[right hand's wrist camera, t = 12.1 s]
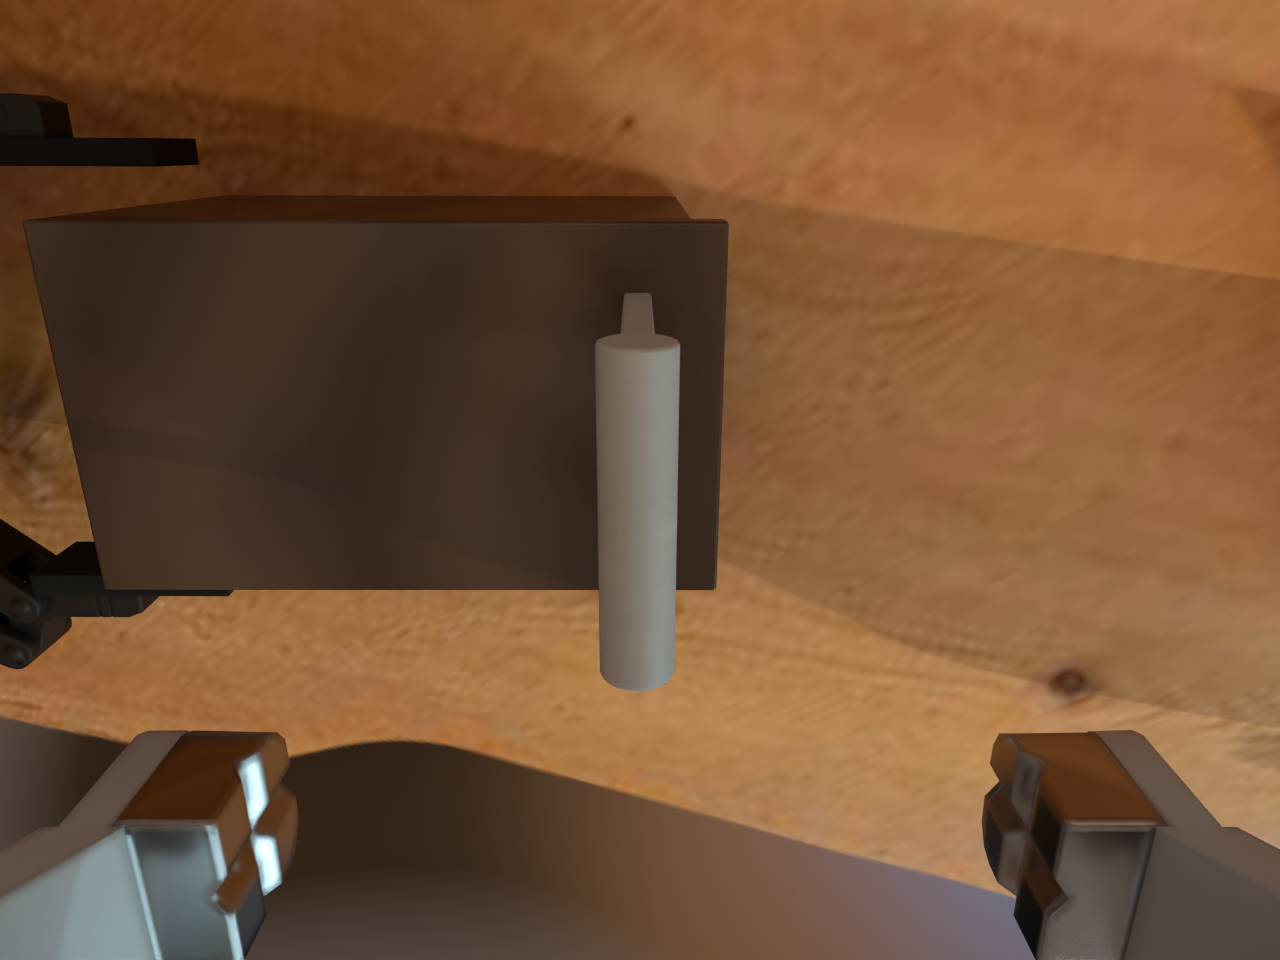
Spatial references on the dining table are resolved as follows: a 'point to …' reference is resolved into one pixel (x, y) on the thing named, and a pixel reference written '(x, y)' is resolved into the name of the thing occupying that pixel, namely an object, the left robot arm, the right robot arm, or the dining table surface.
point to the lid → (399, 406)
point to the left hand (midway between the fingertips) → (214, 376)
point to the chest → (407, 207)
